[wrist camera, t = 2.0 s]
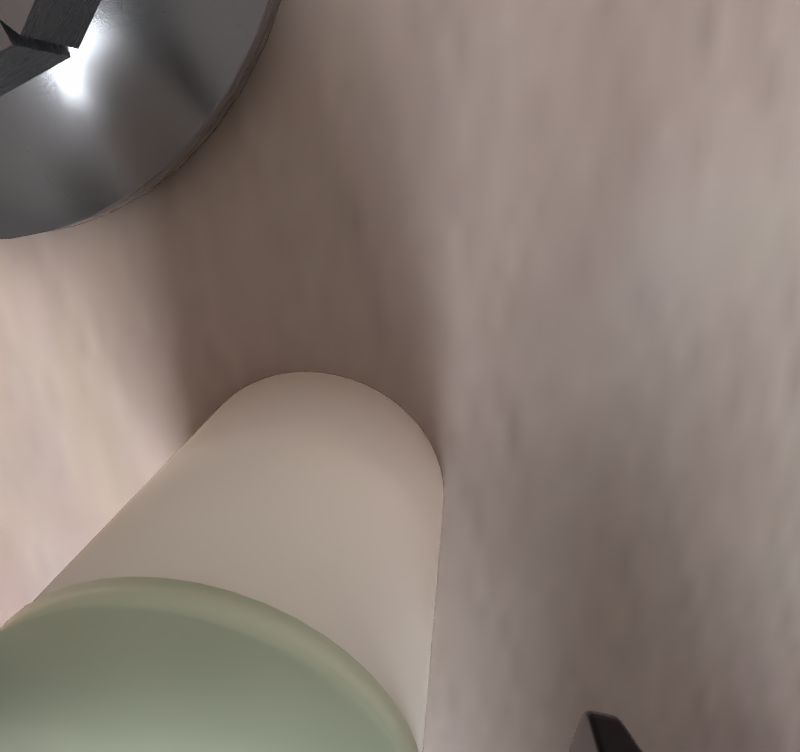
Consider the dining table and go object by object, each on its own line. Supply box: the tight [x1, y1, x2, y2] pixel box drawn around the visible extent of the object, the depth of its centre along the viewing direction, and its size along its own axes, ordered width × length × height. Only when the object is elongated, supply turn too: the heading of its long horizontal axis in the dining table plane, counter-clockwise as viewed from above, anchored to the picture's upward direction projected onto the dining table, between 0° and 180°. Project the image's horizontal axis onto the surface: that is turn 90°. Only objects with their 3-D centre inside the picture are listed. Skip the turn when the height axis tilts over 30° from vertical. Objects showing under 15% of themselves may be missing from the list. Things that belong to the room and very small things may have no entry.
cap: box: [0, 372, 444, 752], centre depth 9 cm, size 5×5×6 cm
